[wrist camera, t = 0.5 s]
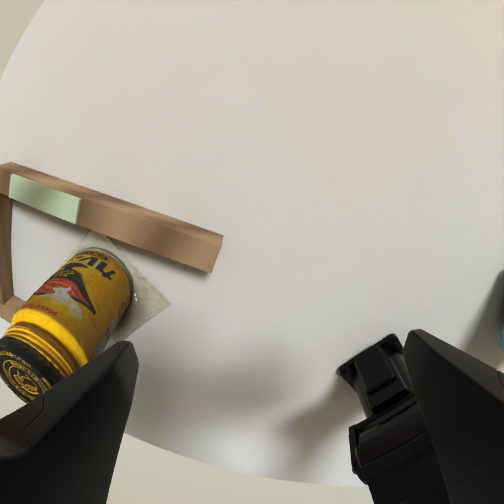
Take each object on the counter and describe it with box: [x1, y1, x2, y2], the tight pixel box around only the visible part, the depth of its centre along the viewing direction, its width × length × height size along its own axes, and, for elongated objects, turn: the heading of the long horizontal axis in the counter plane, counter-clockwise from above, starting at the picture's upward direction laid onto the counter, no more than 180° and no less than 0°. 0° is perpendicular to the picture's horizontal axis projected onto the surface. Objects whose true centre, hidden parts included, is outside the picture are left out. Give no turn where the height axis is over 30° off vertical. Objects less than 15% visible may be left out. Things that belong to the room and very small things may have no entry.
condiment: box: [0, 230, 171, 403], centre depth 16 cm, size 7×8×12 cm
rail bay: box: [0, 162, 223, 323], centre depth 20 cm, size 19×16×2 cm
